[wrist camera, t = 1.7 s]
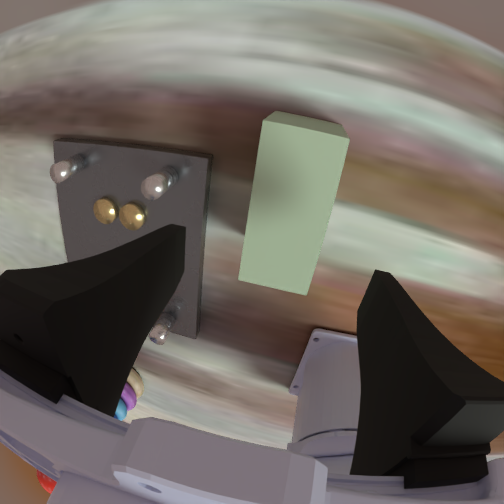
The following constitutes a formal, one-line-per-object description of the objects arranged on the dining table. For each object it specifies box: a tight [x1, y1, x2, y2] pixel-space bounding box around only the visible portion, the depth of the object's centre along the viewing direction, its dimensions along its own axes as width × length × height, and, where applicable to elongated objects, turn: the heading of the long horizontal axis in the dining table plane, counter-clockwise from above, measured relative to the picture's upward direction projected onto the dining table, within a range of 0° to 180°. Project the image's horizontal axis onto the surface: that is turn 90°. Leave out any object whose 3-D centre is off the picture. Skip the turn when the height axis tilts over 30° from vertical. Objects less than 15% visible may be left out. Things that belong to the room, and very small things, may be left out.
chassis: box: [50, 138, 213, 345], centre depth 23 cm, size 16×13×4 cm
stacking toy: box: [37, 368, 144, 494], centre depth 28 cm, size 8×8×19 cm
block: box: [238, 111, 350, 295], centre depth 18 cm, size 9×4×5 cm, turn 172°
